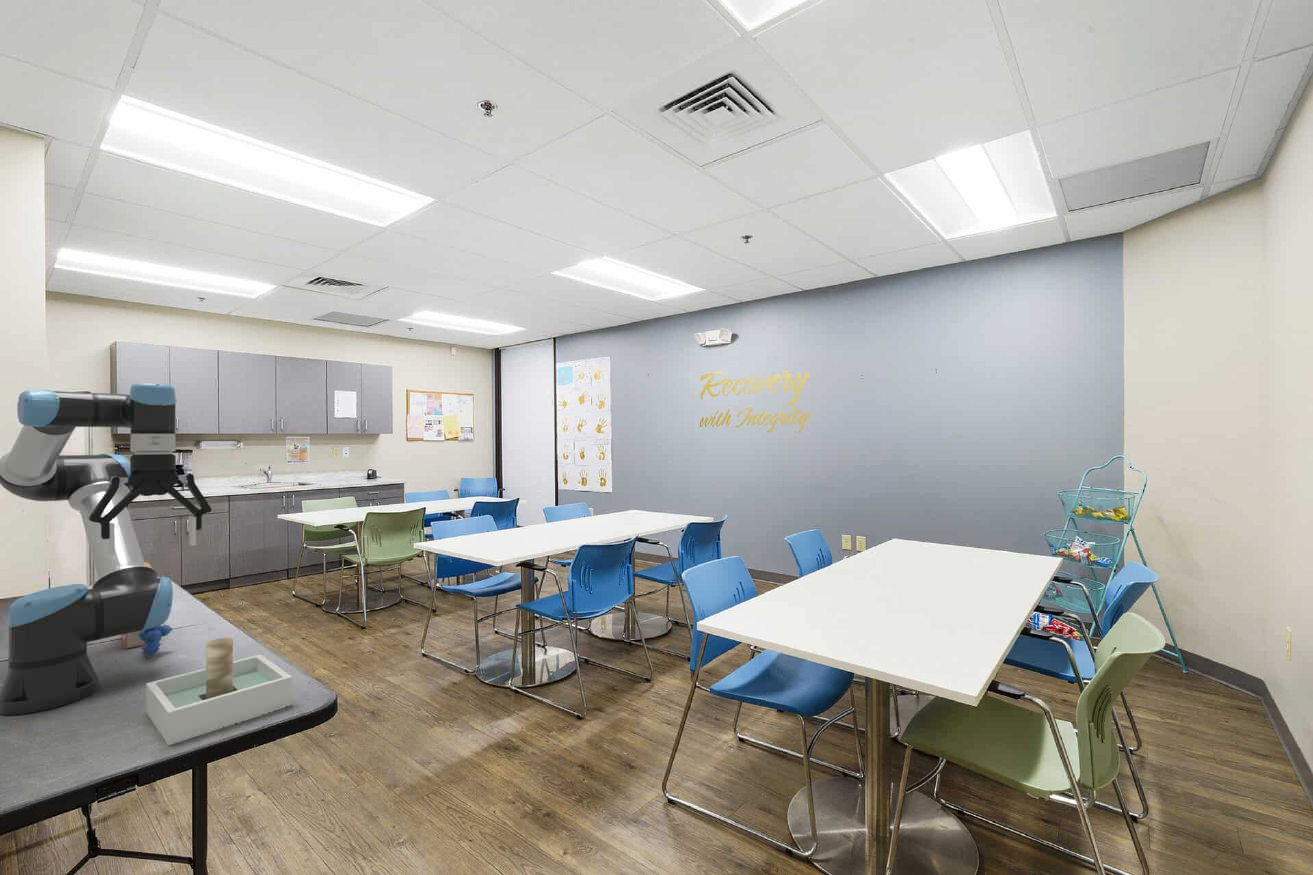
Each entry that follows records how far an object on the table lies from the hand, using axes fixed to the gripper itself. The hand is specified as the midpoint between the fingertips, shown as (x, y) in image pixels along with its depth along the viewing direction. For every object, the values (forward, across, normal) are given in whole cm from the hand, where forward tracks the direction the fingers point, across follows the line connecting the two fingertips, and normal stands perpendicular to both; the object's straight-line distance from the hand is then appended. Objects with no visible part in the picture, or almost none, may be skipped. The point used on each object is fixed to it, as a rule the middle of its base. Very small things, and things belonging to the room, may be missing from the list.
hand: (153, 549), depth 126 cm
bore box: (+32, +7, -21) cm, 39 cm away
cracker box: (+32, +4, +47) cm, 57 cm away
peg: (+32, +7, -21) cm, 39 cm away
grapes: (+32, +5, +29) cm, 43 cm away
